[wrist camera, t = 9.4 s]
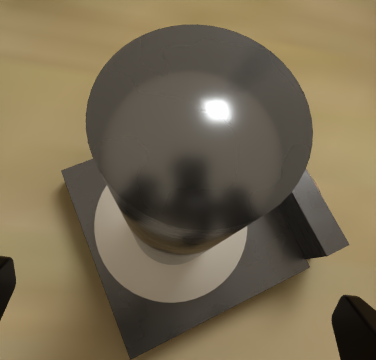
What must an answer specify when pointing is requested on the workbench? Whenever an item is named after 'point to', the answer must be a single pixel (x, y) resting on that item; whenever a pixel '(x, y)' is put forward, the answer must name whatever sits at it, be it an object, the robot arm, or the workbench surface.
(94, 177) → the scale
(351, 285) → the workbench surface
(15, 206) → the workbench surface
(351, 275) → the workbench surface
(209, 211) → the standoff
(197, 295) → the pan
